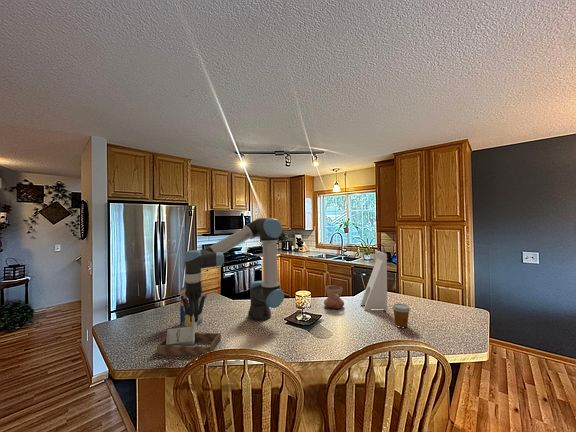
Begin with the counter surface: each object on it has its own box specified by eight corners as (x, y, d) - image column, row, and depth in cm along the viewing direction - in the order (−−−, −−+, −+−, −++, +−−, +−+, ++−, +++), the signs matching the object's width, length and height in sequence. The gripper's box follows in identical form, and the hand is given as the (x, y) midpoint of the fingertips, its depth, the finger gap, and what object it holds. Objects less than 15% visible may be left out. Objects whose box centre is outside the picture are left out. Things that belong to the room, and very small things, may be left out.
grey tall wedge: (357, 303, 193) (357, 250, 193) (376, 303, 193) (376, 250, 193) (366, 312, 173) (365, 254, 173) (387, 312, 173) (386, 253, 173)
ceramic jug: (347, 310, 177) (347, 290, 177) (327, 311, 175) (327, 290, 176) (339, 302, 195) (339, 284, 195) (321, 303, 193) (321, 284, 194)
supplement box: (194, 340, 125) (165, 345, 121) (194, 345, 130) (167, 349, 126) (194, 325, 129) (167, 329, 126) (194, 330, 135) (168, 333, 131)
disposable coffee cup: (410, 324, 154) (409, 304, 154) (410, 331, 145) (410, 309, 145) (393, 321, 158) (392, 302, 158) (392, 328, 149) (392, 307, 149)
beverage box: (197, 326, 153) (197, 289, 153) (180, 325, 153) (180, 289, 154) (202, 321, 160) (202, 286, 160) (185, 321, 160) (185, 286, 160)
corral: (220, 340, 135) (220, 332, 135) (210, 355, 120) (210, 347, 120) (173, 339, 136) (173, 331, 136) (156, 354, 121) (156, 346, 121)
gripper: (208, 279, 131) (209, 325, 131) (184, 279, 132) (185, 325, 132) (202, 283, 124) (203, 331, 124) (177, 283, 125) (178, 331, 124)
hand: (194, 328), depth 128 cm, fingers closed
